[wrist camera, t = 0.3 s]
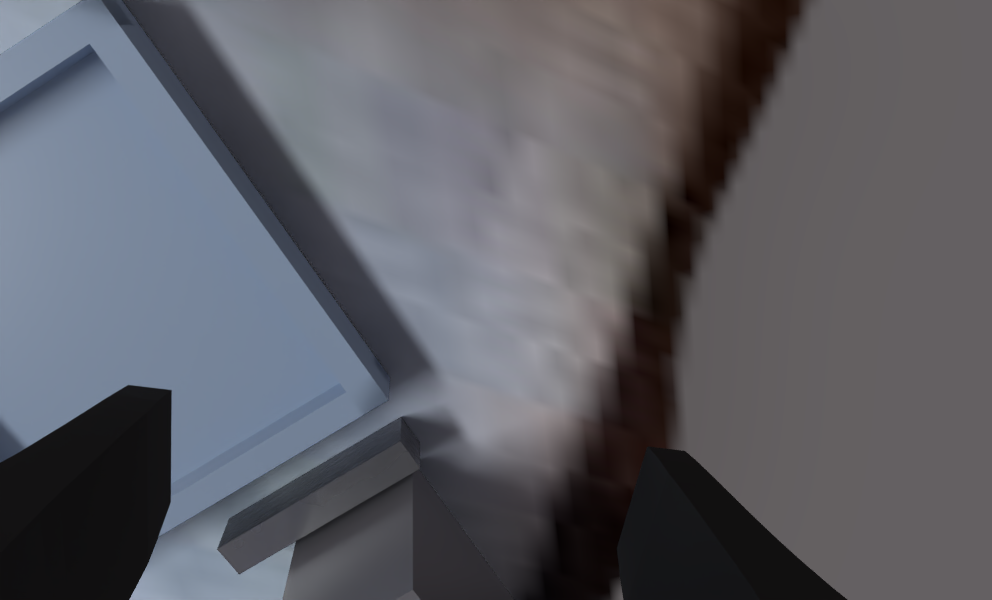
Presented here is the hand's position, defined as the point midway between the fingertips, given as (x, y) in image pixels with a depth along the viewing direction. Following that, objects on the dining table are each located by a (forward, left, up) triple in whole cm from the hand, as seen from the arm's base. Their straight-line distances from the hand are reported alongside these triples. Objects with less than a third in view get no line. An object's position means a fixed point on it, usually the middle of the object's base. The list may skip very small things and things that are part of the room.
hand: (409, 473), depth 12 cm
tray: (-7, +4, -10) cm, 13 cm away
